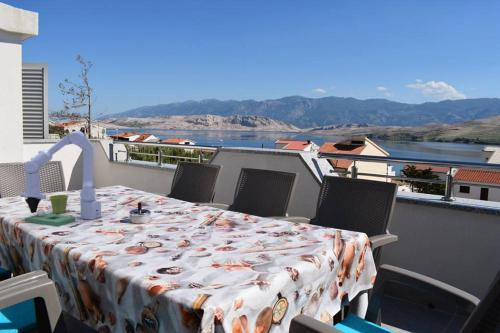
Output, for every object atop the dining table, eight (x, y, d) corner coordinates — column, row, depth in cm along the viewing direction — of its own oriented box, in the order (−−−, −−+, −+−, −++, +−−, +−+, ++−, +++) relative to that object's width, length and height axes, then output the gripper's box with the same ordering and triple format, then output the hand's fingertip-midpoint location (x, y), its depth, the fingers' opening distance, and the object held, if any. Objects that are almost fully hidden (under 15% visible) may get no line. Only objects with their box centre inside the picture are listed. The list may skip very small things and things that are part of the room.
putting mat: (75, 221, 193) (75, 217, 193) (57, 226, 183) (57, 222, 182) (43, 216, 199) (43, 213, 199) (24, 221, 189) (24, 217, 189)
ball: (46, 215, 194) (46, 208, 193) (40, 217, 191) (40, 210, 190) (40, 215, 195) (40, 208, 195) (34, 216, 192) (34, 209, 191)
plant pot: (54, 215, 204) (54, 198, 203) (46, 212, 209) (45, 196, 208) (72, 212, 211) (72, 196, 210) (63, 209, 217) (62, 194, 216)
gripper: (14, 185, 191) (15, 212, 193) (37, 187, 187) (38, 215, 188) (26, 183, 198) (27, 209, 199) (49, 185, 193) (50, 212, 195)
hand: (33, 212), depth 194 cm, fingers closed
